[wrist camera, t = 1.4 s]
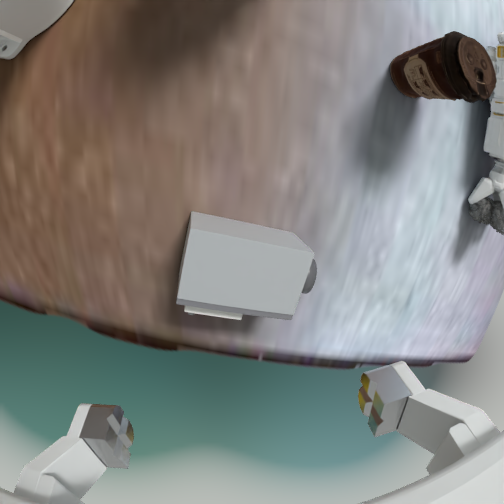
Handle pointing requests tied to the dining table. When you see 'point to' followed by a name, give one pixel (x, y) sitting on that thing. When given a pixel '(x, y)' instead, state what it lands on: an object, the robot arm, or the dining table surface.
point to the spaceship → (493, 151)
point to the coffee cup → (445, 70)
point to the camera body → (243, 268)
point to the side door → (212, 312)
